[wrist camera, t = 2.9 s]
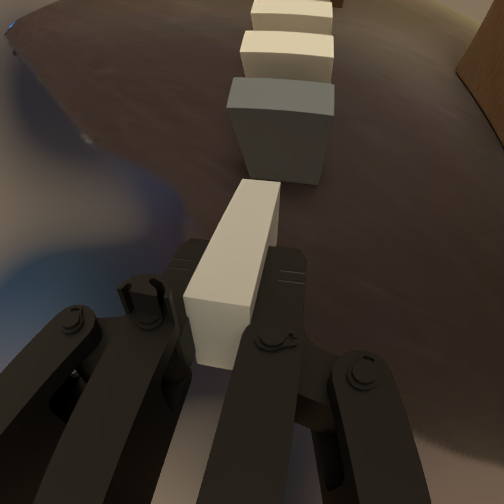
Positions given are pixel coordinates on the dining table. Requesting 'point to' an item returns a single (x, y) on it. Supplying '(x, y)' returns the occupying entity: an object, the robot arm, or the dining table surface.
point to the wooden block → (487, 67)
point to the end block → (337, 3)
